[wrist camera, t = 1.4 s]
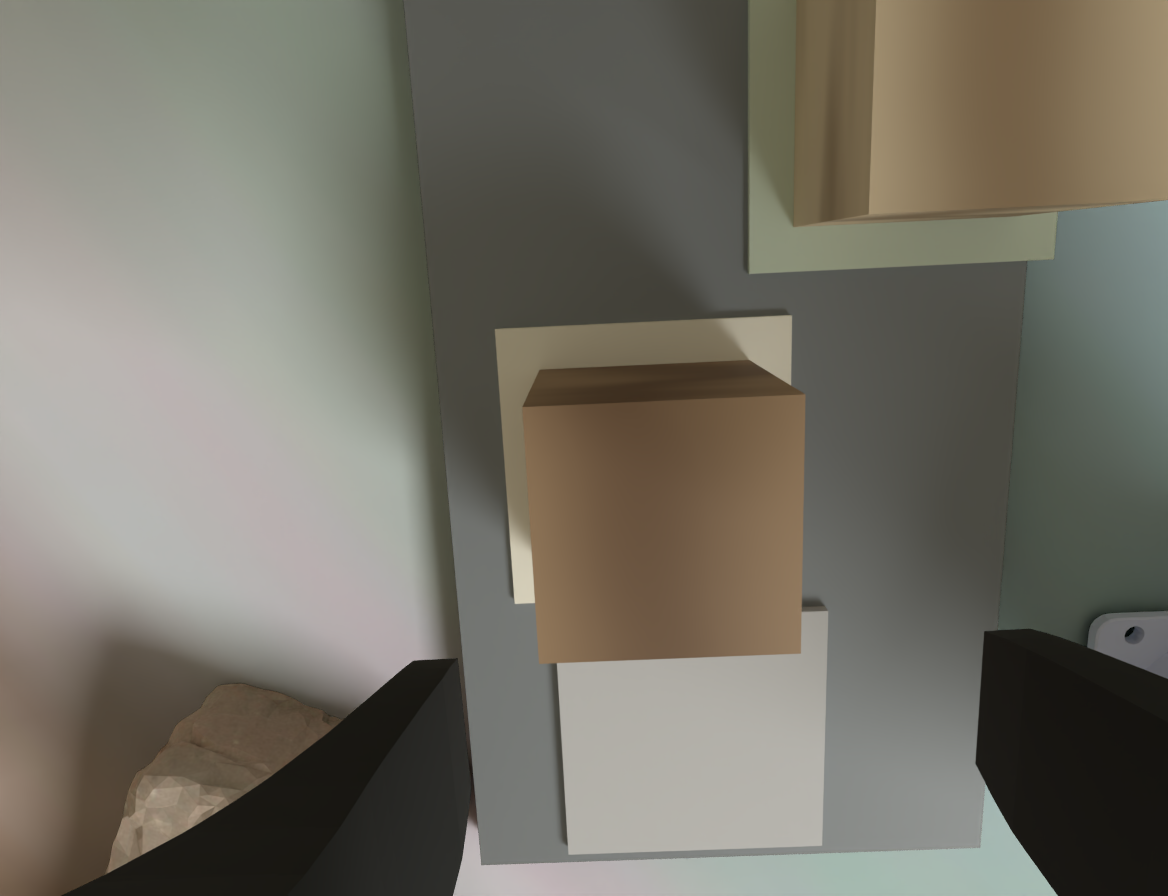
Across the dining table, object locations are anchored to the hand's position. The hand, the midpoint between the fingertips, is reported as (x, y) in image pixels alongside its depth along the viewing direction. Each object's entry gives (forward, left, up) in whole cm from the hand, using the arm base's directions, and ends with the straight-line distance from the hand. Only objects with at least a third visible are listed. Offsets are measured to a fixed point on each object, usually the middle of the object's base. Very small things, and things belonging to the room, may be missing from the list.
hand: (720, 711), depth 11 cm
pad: (-1, +6, -9) cm, 11 cm away
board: (-2, -2, -11) cm, 11 cm away
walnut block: (0, -1, -9) cm, 9 cm away
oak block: (-6, -9, -9) cm, 14 cm away
